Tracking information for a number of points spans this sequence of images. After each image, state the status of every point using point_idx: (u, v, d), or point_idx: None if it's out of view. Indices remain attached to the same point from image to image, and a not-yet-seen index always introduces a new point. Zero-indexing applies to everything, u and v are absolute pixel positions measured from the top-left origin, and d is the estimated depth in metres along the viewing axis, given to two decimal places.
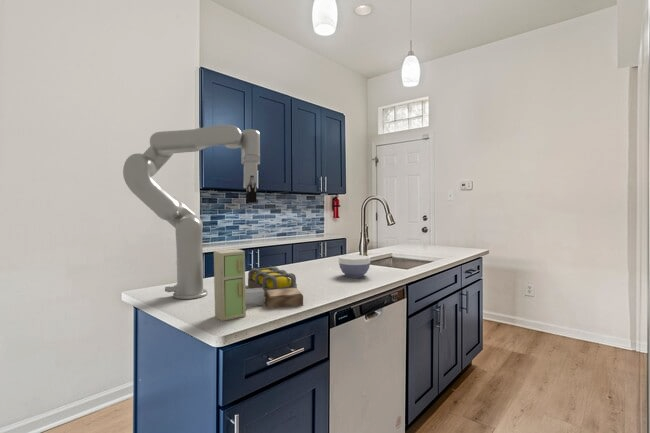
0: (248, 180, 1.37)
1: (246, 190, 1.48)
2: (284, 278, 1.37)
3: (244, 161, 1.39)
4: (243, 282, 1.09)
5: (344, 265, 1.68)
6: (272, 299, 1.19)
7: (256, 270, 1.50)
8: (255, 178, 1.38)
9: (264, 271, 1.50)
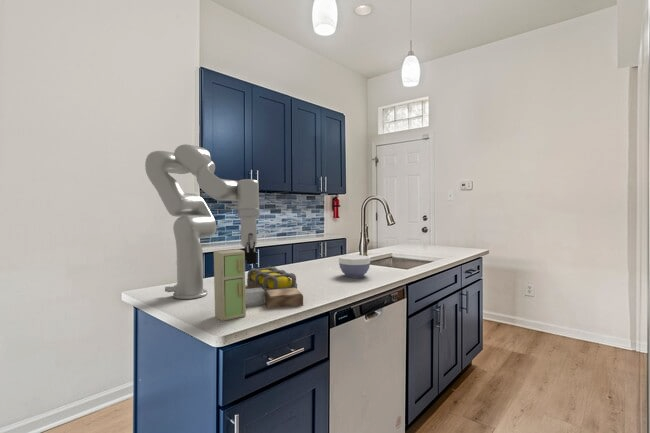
0: (246, 239, 1.19)
1: (244, 246, 1.29)
2: (285, 278, 1.38)
3: (241, 216, 1.21)
4: (243, 282, 1.09)
5: (344, 265, 1.68)
6: (272, 299, 1.19)
7: (255, 270, 1.49)
8: (254, 236, 1.20)
9: (263, 271, 1.49)
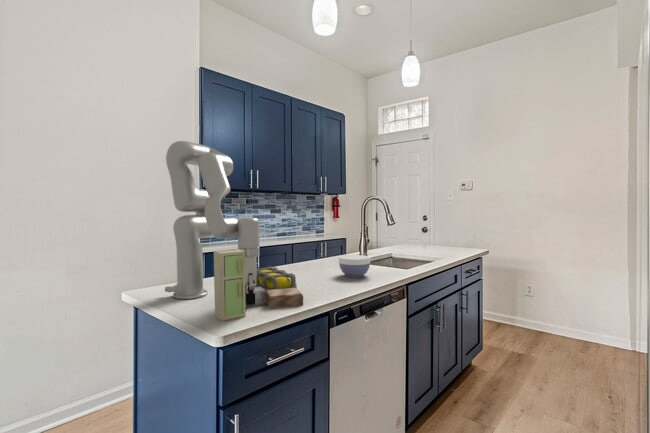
0: (246, 279, 1.19)
1: None
2: (284, 278, 1.37)
3: None
4: (243, 282, 1.09)
5: (344, 265, 1.68)
6: (272, 299, 1.19)
7: None
8: (254, 276, 1.20)
9: (263, 271, 1.49)
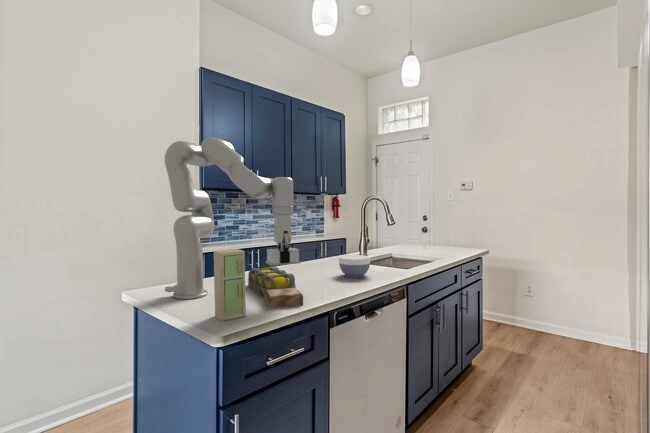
0: (281, 236, 1.20)
1: (277, 246, 1.29)
2: (282, 278, 1.37)
3: (276, 214, 1.22)
4: (243, 282, 1.09)
5: (344, 265, 1.68)
6: (272, 299, 1.19)
7: (256, 270, 1.50)
8: (289, 234, 1.21)
9: (264, 271, 1.50)
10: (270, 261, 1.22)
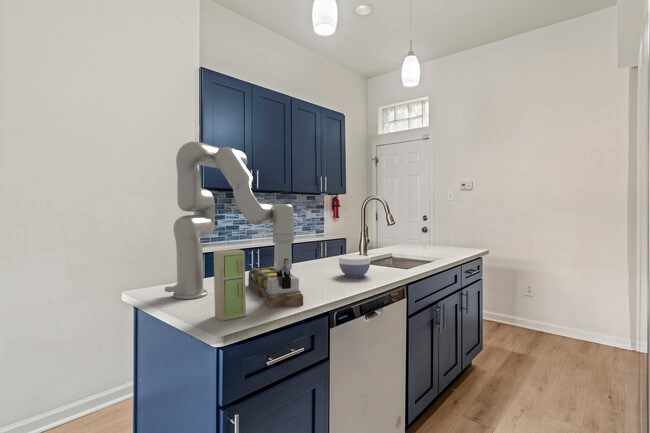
0: (282, 264, 1.20)
1: None
2: None
3: (277, 241, 1.22)
4: (243, 282, 1.09)
5: (344, 265, 1.68)
6: (272, 299, 1.19)
7: (256, 270, 1.50)
8: (289, 261, 1.21)
9: (264, 271, 1.50)
10: (270, 291, 1.22)
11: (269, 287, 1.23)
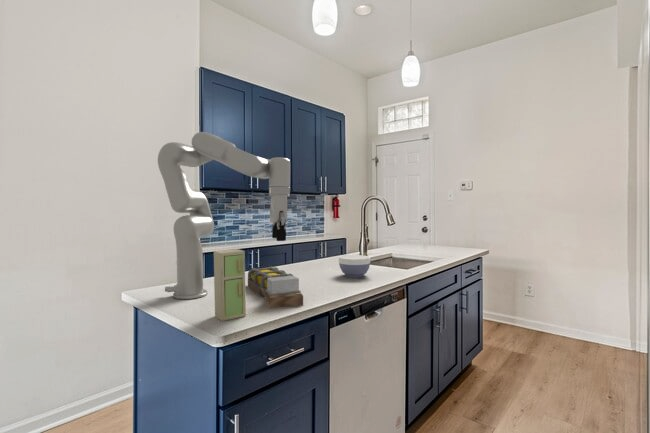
0: (277, 216, 1.20)
1: None
2: None
3: (273, 194, 1.22)
4: (243, 282, 1.09)
5: (344, 265, 1.68)
6: (272, 299, 1.19)
7: (255, 270, 1.50)
8: (285, 214, 1.21)
9: (263, 271, 1.50)
10: (270, 291, 1.22)
11: (269, 287, 1.23)
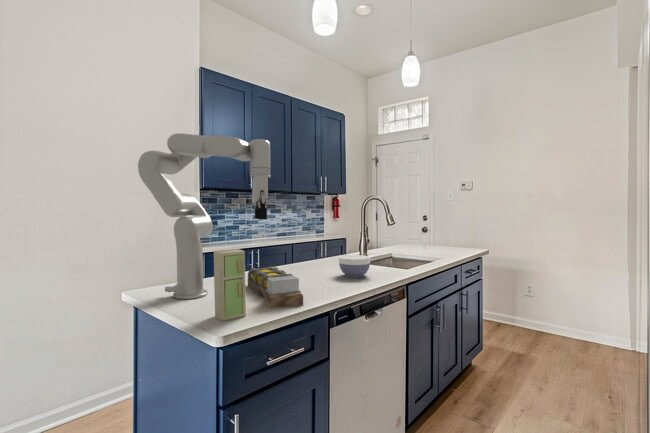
0: (258, 195, 1.25)
1: (255, 205, 1.35)
2: None
3: (253, 174, 1.27)
4: (243, 282, 1.09)
5: (344, 265, 1.68)
6: (272, 299, 1.19)
7: (255, 270, 1.50)
8: (265, 193, 1.26)
9: (263, 271, 1.50)
10: (270, 291, 1.22)
11: (269, 287, 1.23)
